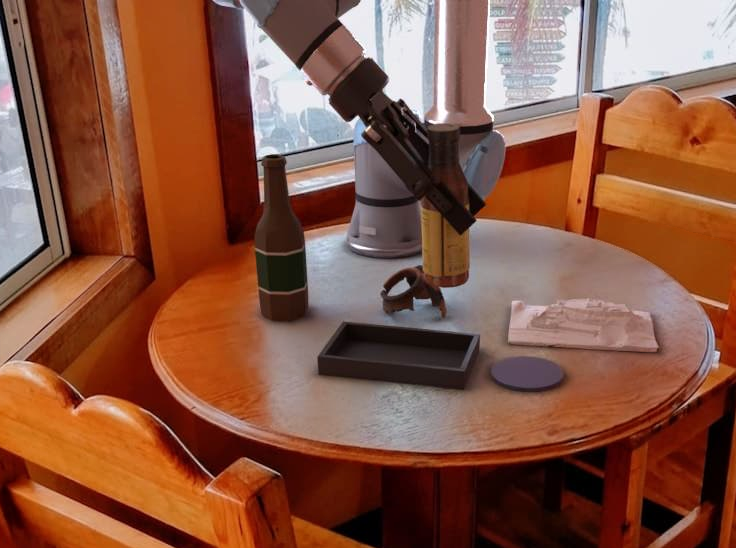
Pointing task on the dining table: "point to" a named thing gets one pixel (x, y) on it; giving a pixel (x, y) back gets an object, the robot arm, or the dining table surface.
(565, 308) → the terrain model
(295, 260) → the beer bottle
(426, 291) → the brown broken pot
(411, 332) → the tray
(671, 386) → the dining table surface
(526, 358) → the coaster
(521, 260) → the dining table surface
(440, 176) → the sauce bottle
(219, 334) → the dining table surface
